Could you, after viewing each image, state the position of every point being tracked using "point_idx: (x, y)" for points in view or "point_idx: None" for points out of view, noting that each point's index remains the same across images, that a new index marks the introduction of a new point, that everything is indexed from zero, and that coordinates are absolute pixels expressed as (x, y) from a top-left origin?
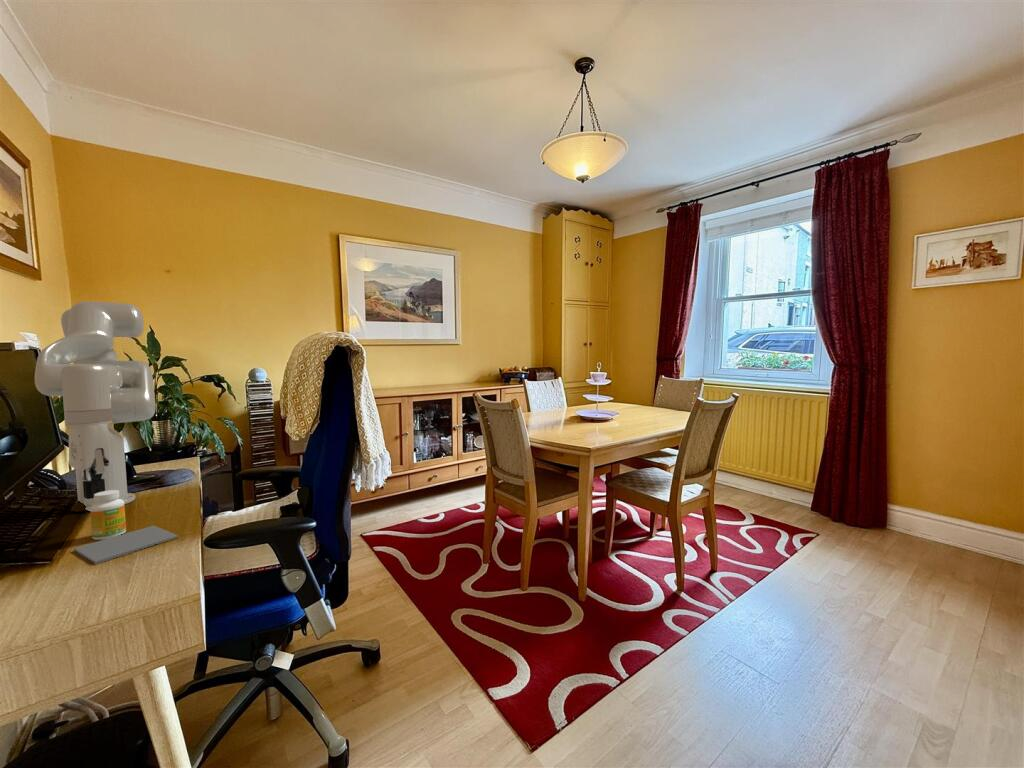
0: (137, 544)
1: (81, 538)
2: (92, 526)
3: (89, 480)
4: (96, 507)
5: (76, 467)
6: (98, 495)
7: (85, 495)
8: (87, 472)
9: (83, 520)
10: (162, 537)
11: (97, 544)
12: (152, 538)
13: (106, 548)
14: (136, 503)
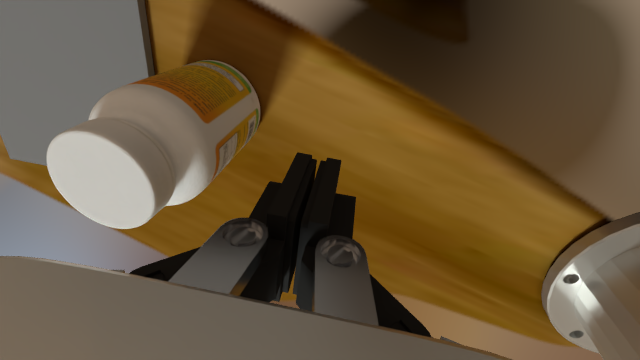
0: (7, 79)
1: (279, 51)
2: (185, 68)
3: (227, 231)
4: (101, 98)
5: (175, 298)
6: (58, 136)
7: (306, 161)
8: (179, 281)
9: (522, 162)
10: (21, 136)
11: (106, 27)
12: (34, 122)
13: (37, 20)
14: (510, 306)
